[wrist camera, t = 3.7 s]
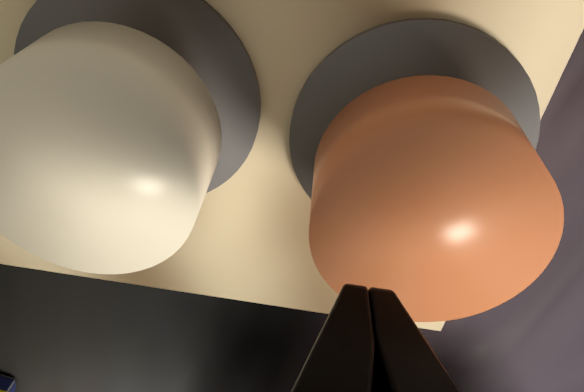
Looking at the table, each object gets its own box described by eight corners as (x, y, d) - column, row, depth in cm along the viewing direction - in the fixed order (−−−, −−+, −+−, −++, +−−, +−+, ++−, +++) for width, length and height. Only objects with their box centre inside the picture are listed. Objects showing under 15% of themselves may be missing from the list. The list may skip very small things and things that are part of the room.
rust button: (562, 94, 10) (613, 154, 8) (481, 263, 13) (505, 336, 11) (333, 58, 10) (332, 108, 8) (300, 235, 13) (293, 304, 11)
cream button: (227, 41, 10) (201, 88, 8) (216, 222, 13) (195, 288, 11) (-6, 3, 10) (-88, 43, 8) (33, 193, 13) (-21, 256, 11)
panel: (631, -171, 11) (693, -173, 9) (434, 288, 19) (445, 338, 17) (-327, -331, 10) (-473, -367, 9) (-105, 205, 19) (-156, 247, 17)
